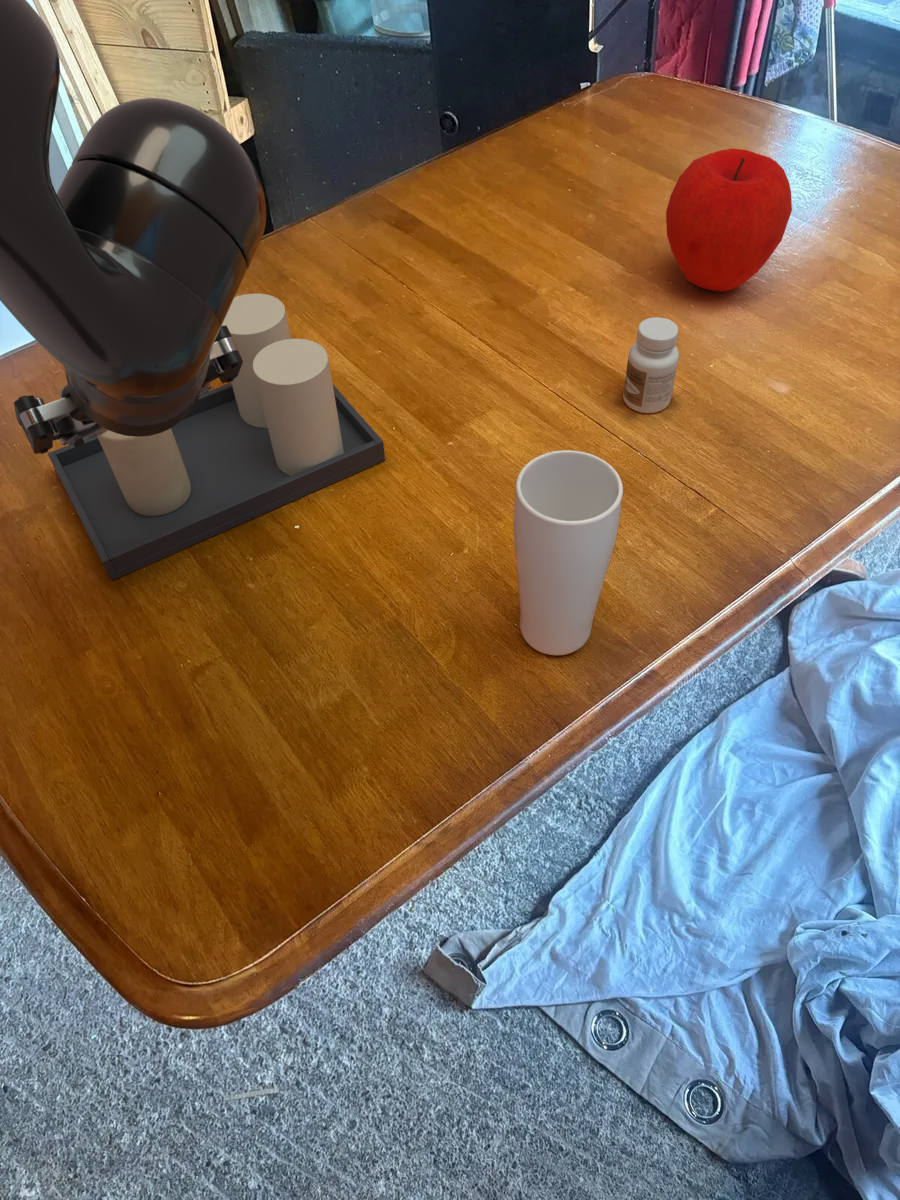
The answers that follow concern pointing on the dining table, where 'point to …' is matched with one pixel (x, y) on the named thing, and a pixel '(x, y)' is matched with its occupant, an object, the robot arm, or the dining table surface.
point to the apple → (727, 217)
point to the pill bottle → (652, 366)
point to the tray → (203, 481)
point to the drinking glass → (563, 545)
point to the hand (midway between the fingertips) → (130, 410)
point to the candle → (148, 471)
